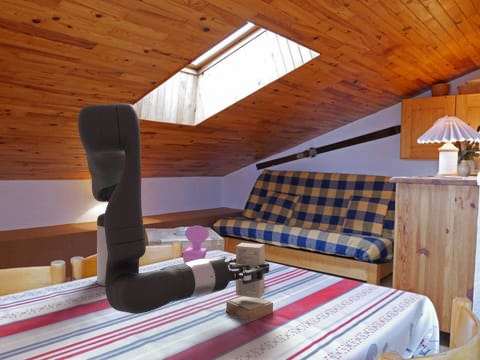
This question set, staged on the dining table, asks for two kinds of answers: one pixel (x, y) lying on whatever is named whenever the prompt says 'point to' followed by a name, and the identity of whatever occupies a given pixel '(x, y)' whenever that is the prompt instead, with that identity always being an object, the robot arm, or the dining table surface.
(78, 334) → the dining table surface
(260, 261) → the skincare box
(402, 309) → the dining table surface
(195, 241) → the toy chair
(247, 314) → the wooden framed mirror
